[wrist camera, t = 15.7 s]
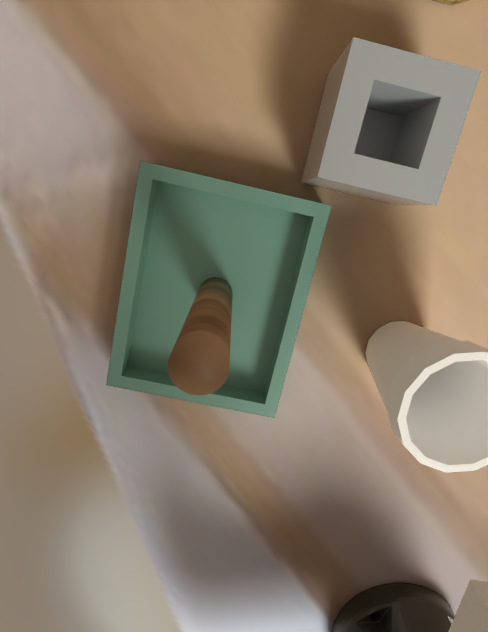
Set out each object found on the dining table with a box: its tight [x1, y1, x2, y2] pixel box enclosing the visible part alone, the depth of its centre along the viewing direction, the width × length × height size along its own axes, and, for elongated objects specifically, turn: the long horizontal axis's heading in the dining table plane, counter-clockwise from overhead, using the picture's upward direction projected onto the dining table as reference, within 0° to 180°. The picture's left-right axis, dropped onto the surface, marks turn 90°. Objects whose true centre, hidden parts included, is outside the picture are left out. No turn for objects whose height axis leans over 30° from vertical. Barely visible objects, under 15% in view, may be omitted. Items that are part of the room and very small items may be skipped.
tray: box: [106, 161, 331, 418], centre depth 38 cm, size 20×16×4 cm
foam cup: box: [365, 321, 488, 472], centre depth 36 cm, size 10×9×13 cm
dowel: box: [168, 277, 233, 396], centre depth 30 cm, size 3×3×18 cm
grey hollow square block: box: [301, 37, 481, 206], centre depth 33 cm, size 9×9×8 cm
